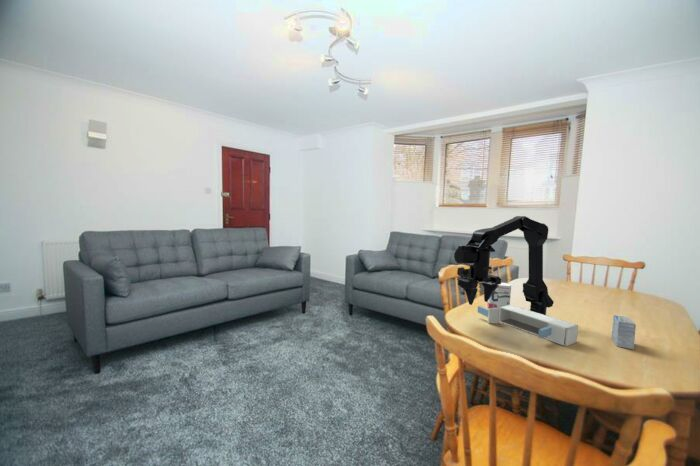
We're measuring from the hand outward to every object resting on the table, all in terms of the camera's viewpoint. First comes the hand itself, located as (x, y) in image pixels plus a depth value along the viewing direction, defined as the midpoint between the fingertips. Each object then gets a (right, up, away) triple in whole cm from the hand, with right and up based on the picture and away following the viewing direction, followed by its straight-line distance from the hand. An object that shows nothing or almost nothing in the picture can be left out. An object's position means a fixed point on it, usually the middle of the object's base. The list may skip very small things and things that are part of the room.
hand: (478, 303), depth 116 cm
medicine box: (+43, -11, -14) cm, 46 cm away
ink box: (+17, -8, +20) cm, 27 cm away
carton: (+19, -9, -5) cm, 21 cm away
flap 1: (+6, -8, +5) cm, 11 cm away
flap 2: (+17, -10, -16) cm, 26 cm away
